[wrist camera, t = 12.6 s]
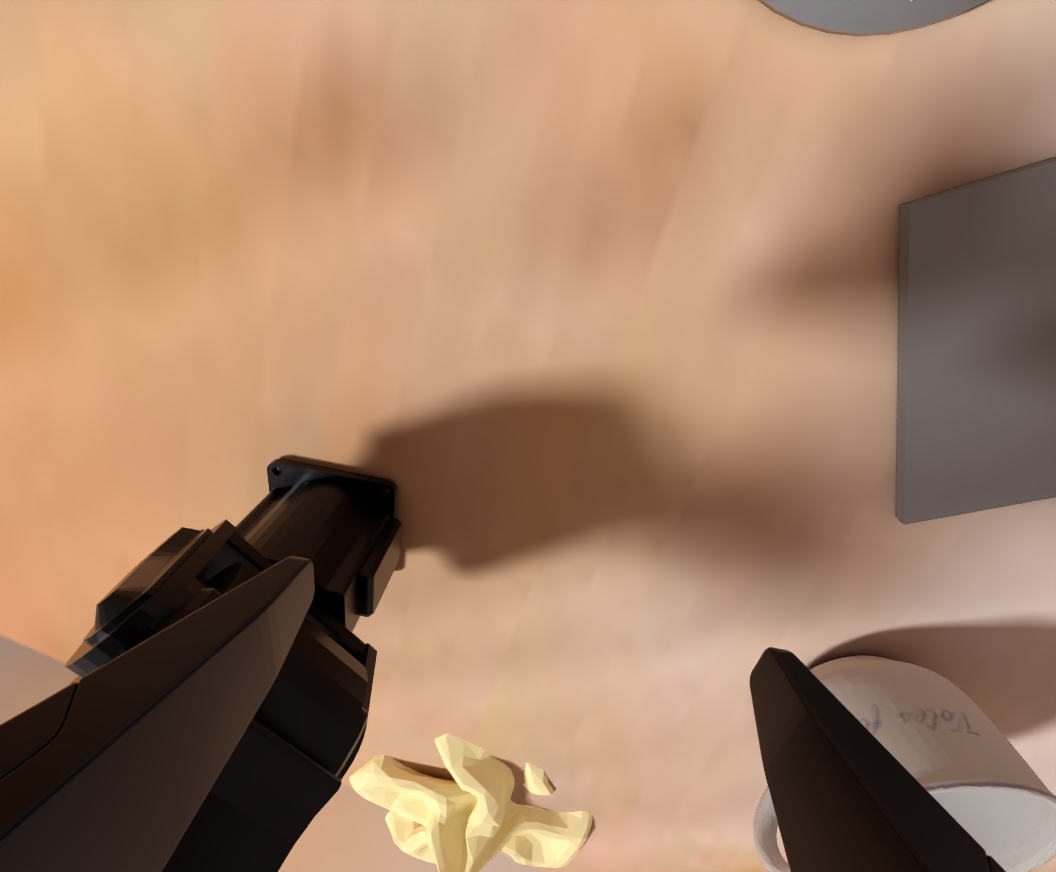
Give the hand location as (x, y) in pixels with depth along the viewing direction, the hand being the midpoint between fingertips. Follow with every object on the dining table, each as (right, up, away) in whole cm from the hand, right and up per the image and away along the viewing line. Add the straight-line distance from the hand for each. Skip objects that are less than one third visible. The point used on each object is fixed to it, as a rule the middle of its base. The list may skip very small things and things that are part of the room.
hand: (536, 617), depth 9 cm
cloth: (-5, -25, +29) cm, 38 cm away
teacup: (+18, -12, +20) cm, 29 cm away
